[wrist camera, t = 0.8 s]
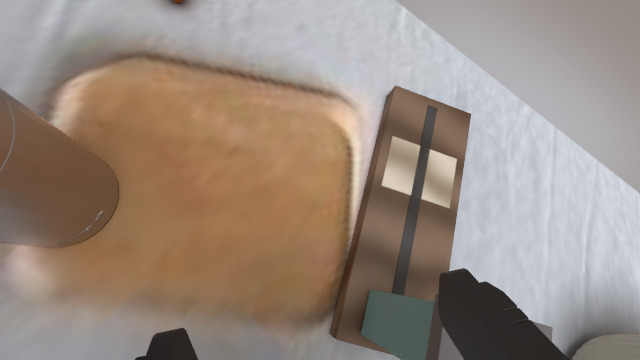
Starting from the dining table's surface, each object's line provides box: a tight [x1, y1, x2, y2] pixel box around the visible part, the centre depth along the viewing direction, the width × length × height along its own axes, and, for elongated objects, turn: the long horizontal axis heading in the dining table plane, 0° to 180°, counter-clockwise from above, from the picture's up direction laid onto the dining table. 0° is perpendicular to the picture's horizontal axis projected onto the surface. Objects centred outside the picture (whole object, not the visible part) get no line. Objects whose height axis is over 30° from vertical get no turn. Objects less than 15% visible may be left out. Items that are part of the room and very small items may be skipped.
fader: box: [361, 289, 552, 360], centre depth 24 cm, size 5×7×13 cm
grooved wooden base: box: [330, 86, 471, 355], centre depth 35 cm, size 28×10×3 cm, turn 164°
